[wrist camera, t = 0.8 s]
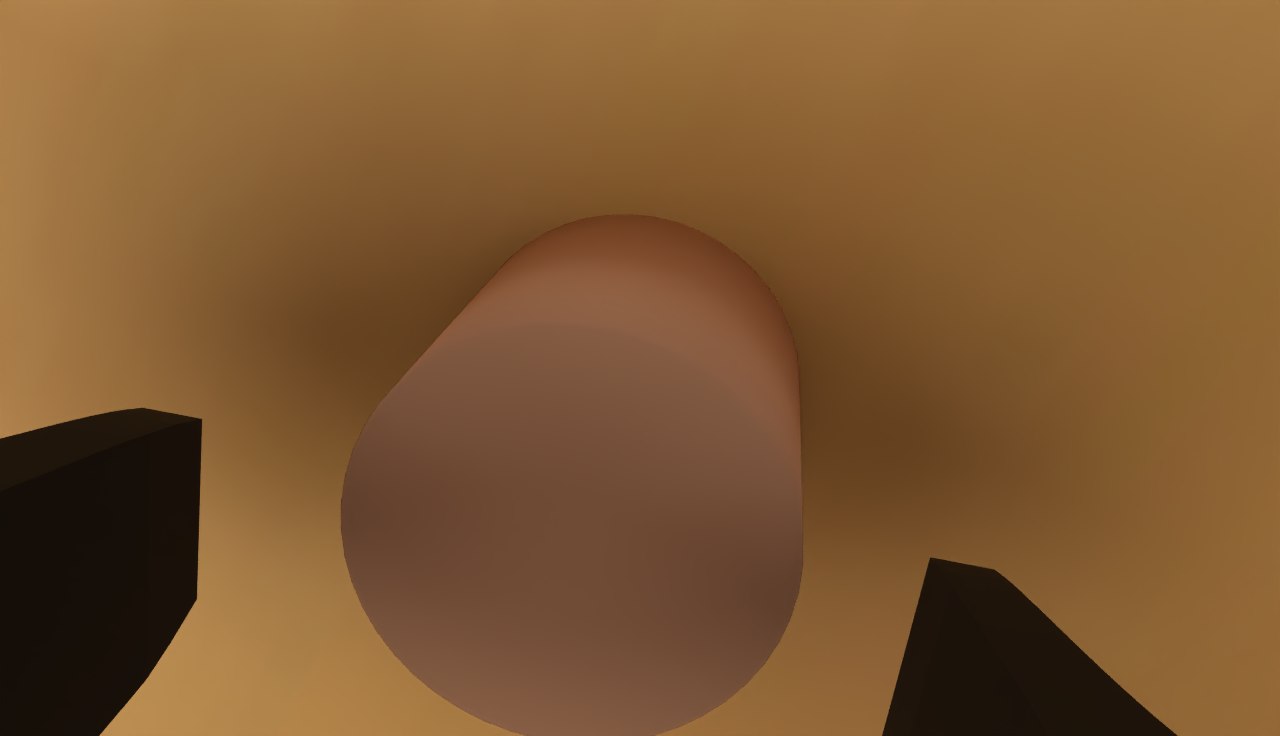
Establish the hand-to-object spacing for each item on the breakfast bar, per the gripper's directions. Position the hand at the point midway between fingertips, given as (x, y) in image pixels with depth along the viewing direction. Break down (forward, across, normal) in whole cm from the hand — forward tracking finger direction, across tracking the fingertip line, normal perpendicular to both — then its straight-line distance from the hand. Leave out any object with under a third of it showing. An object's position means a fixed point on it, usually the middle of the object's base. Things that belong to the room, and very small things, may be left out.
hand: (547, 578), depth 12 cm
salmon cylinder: (+6, 0, 0) cm, 6 cm away
